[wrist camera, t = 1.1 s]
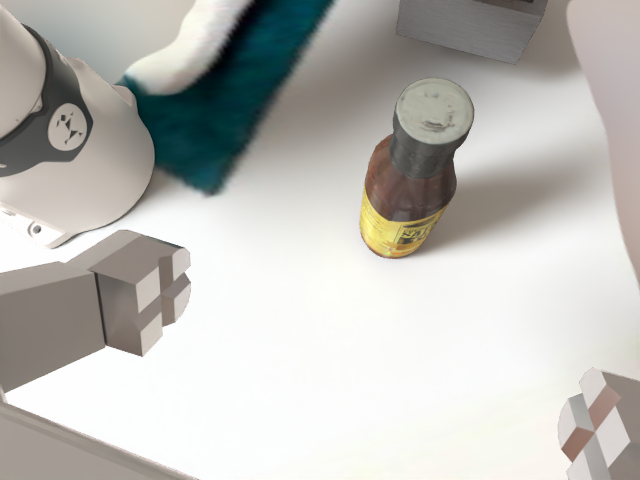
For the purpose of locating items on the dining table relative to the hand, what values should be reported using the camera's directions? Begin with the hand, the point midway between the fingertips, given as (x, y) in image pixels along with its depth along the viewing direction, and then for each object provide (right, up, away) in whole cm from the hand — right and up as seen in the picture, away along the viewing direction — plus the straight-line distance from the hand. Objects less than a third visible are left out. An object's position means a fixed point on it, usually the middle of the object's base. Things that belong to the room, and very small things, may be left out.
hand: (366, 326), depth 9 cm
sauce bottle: (+6, +3, +32) cm, 33 cm away
